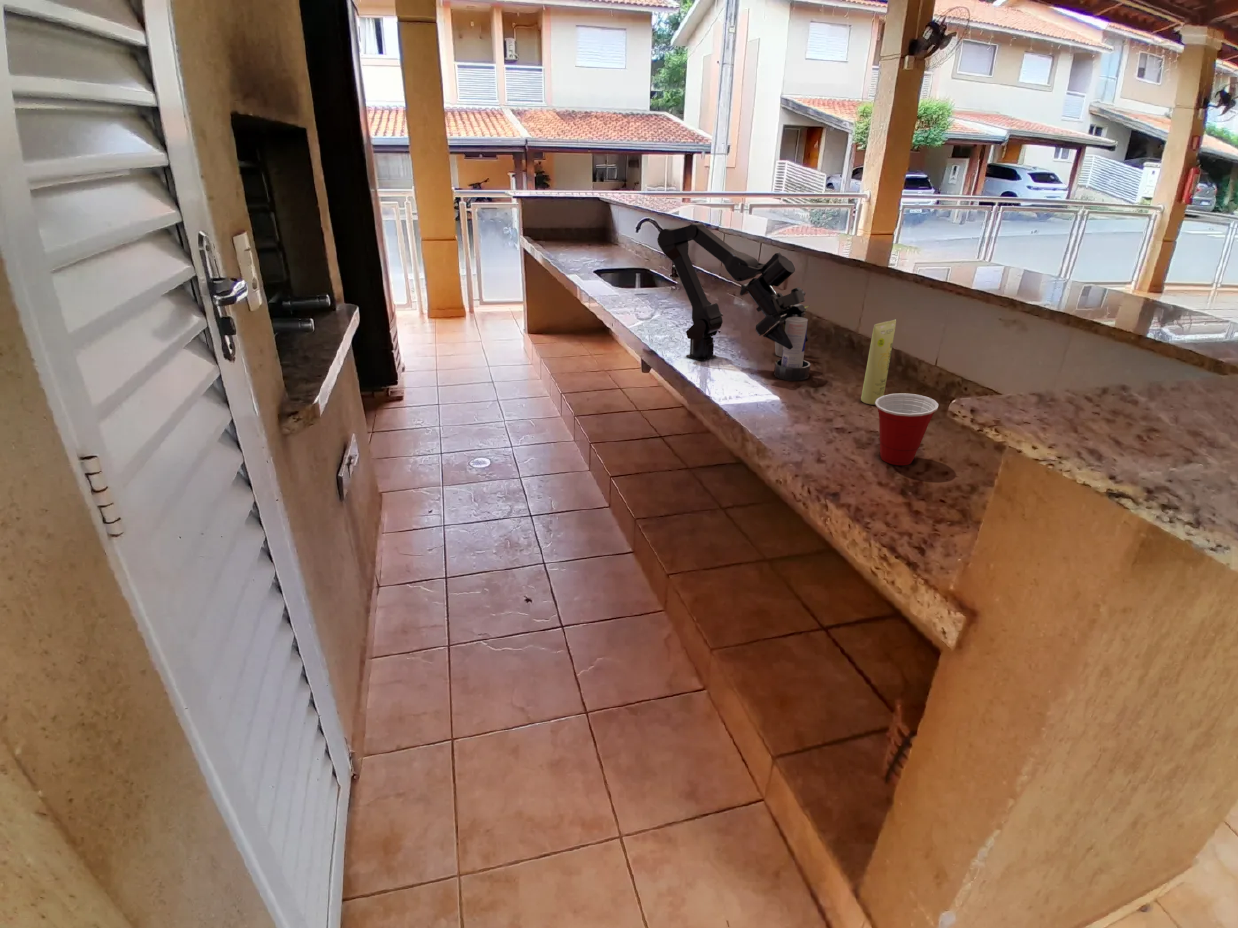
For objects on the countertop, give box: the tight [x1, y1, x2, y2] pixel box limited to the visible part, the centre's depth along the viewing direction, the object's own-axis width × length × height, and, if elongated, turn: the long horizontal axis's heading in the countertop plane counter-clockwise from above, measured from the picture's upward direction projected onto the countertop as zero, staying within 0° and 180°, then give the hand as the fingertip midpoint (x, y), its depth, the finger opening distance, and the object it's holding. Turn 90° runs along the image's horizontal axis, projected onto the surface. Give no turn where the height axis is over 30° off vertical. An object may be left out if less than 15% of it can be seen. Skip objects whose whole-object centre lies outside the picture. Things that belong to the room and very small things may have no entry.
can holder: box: [773, 358, 812, 382], centre depth 167 cm, size 9×9×4 cm
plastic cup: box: [875, 392, 940, 466], centre depth 117 cm, size 11×11×12 cm
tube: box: [860, 318, 897, 406], centre depth 144 cm, size 6×5×20 cm
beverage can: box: [781, 317, 809, 368], centre depth 164 cm, size 6×6×15 cm
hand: (799, 344), depth 163 cm, fingers open, 9 cm apart
